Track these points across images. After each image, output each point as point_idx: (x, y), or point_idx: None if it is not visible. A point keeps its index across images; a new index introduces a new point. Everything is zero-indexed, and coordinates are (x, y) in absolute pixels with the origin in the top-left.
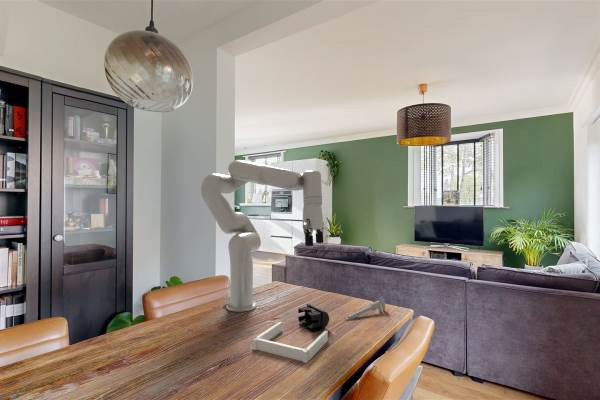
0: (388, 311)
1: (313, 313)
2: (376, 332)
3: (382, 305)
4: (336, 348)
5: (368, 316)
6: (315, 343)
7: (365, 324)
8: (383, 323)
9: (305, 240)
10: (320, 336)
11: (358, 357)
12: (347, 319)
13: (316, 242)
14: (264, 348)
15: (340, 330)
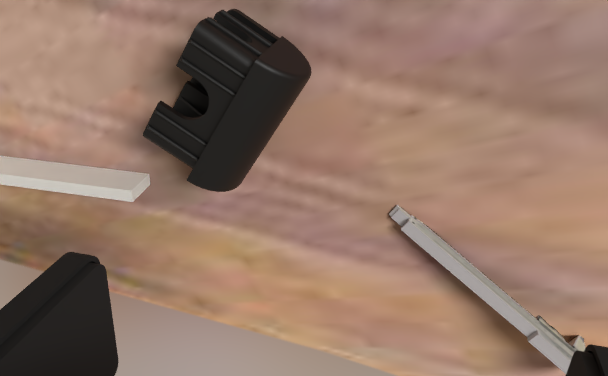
0: None
1: (161, 138)
2: (308, 325)
3: None
4: (116, 222)
5: None
6: (22, 186)
7: (373, 288)
8: (414, 347)
9: (2, 316)
10: (76, 188)
11: None
12: (392, 218)
13: (577, 356)
14: None
15: (262, 208)
